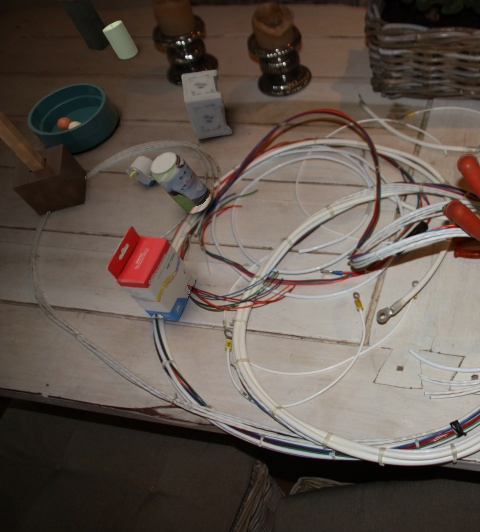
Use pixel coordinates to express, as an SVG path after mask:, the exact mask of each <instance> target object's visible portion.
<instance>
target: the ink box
mask: <svg viewBox="0 0 480 532" xmlns="http://www.w3.org/2000/svg"><path fill="white" fill-rule="evenodd" d="M126 246H127V247H126ZM125 247H126V249H125ZM123 249H125V250H124V253H123V254H122V252H123V251H122V250H123ZM121 255H122V256H121ZM120 256H121V258H120ZM106 270H107V271H108V272H109V273H110V275H111V276H112V277H113V278H114V279H115V282H116V283H117V284H118V285H119V286H120V287H121V288H122V289H123V290H124V291H125V293H127V294H128V295H129V296H130V297H131V298H132V299H133V300H134V301H135V303H137V304H138V306H140V307H141V308H142V309H143V310H144V311H145V312H146V313H147V314H148V316H150V317H151V318H152V316H153V315H154V314H158V315H161V316H163V318H164V319H163V320H166V319H169V320H168V321H179V320H180V317H181V316H182V313H183V310H184V309H185V306H186V304H187V302H188V300H189V298H188V296H189V297H190V295H188V294H189V292H190V291H189V290H188V286H187V285H190V286H193V285H194V286H195V284H196V282H195V280H196V279H197V278H196V276H195V275H194V274H193V272H192V271H191V269H190V268H189V267H188V265H187V264H186V262H184V260H183V259H182V257H181V255H179V253H178V252H177V251H176V249H175V248H174V246H173V245H172V244H171V243H170V241H169V240H168V238H167V237H166V238H165V237H159V236H158V237H157V236H145V235H141V236H140V235H139V233H138V232H137V231H136V229H135V227H134V226H133V225H130V226H129V227H128V229H127V230H126V232H125V234H124V236H123V238H122V239H121V241H120V242H119V244H118V245H117V247H116V249H115V251H114V253H113V254H112V256H111V258H110V260H109V262H108V264H107V265H106ZM196 281H197V280H196ZM194 283H195V284H194ZM187 299H188V300H187ZM183 308H184V309H183Z"/></svg>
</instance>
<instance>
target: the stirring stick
mask: <svg viewBox="0 0 480 532" xmlns="http://www.w3.org/2000/svg"><path fill="white" fill-rule="evenodd" d="M0 139H1V140H2V141H3V142H4V143H5V144H6V145H7V146H8V147H9V148H10V149H11V151H13V153H14V154H15V155H16V157H17V156H18V157H19V158H20V159H21V160H22V161H23V162H24V163H25V164H26V165H27V166H28V167H29V168H30V170H31V171H32V172H34V171H37V170H41V169H45V164H46V161H45V160H44V159H43V158H42V157H41V156H40V155H39V153H38V152H37V151H38V150H36V149H35V147H34V146H33V145H32V144H31V143H30V142H29V141H28V140H27V139H26V137H24V135H23V134H22V132H20V131H19V130H18V129H17V127H16V126H15V125H14V124H13V123H12V122H11V121H10V120H9V119H8V117H7V116H6V115H5V114H4V112H3V111H2V110H0Z"/></svg>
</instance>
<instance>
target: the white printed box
mask: <svg viewBox="0 0 480 532" xmlns="http://www.w3.org/2000/svg"><path fill="white" fill-rule="evenodd" d="M218 81H220V76H219V72H218V70H217V69H210V70H202V71H198V72H189V73H182V74H181V82H182V83H181V84H182V92H183V102H184V106H185V109H186V111H187V114H188V117H189V120H190V123H191V126H192V129H193V132H194V135H195V137H196V139H197V140H203V139H208V138H215V137H219V136H220V137H221V136H228V135H230V134H232V135H233V130H232V128H231V127H230V126H229V125H228V123H227V119H226V110H225V101H224V98H223V94H222V93H221V92H220V91H219V87H218Z"/></svg>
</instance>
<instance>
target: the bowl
mask: <svg viewBox="0 0 480 532" xmlns="http://www.w3.org/2000/svg"><path fill="white" fill-rule="evenodd" d="M63 117H66V118H69V119H70V120H72V122H80V123H81V124H80V125H78V126H76V127H73V128H71V129H68V130H65V131H62V130H61V129H59V127H58V124H57V123H58V120H59V119H60V118H63ZM118 121H119V112H118V110H117V108H116V106H115V105H114V103H113V102H112V101H111V99H110V98H109V96H108V94H107V93H106V91H105V89H103V88H102V87H101V86H99V85H97V84H94V83H91V82H90V83H89V82H79V83H73V84H68V85H65V86H62V87H60V88H57V89H54V90H53V91H51V92H49V93H48V94H46V95H45V96H43V97H42V98H41V99H39V100H38V101H37V102H36V103H35V105H34V106H32V107H31V110H30V111H29V113H28V116H27V121H26V123H27V126H28V128H29V130H31V131H32V132H33V133H34V135H35V136H36V137H37V138H38V140H39V141H40V142H41V143H42V144H43V145H44V147H45V148H50V147H54V146H57V145H61V144H63V145H64V146H65V147H66V148H67V150H68V151H69V152H70V153H71V154H77V153H82V152H86V151H88V150H90V149H92V148H94V147H96V146H98V145H100V144H101V143H103V142H104V141H105V140H106V139H108V138H109V137H110V136H111V134H112V133H113V131H114V130H115V128H116V126H117V125H118Z"/></svg>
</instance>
